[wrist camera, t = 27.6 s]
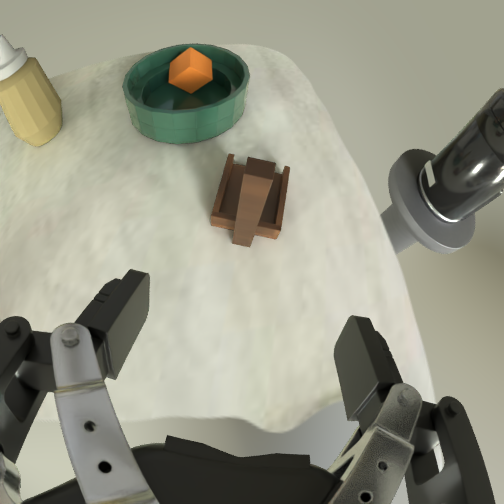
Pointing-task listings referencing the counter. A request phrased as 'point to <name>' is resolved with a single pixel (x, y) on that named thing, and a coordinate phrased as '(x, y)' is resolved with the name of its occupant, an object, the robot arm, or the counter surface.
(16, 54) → the squeeze bottle
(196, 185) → the counter surface
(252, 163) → the scoop
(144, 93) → the green pet bowl
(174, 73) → the block
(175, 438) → the robot arm
